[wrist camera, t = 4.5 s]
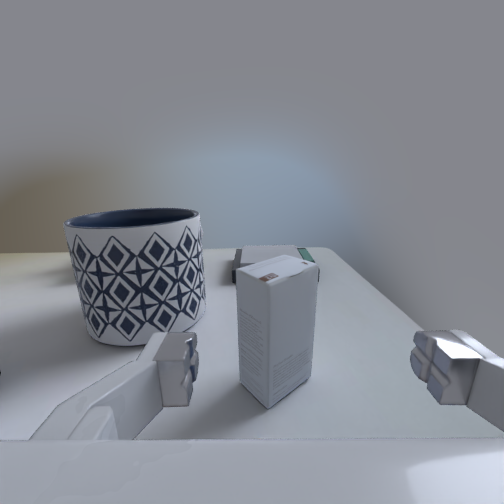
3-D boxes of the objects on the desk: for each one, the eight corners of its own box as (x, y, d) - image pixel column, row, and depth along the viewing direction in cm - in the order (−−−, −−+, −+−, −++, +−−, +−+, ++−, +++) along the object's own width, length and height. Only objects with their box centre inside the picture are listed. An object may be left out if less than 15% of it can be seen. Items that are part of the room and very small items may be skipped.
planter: (220, 329, 34) (214, 219, 30) (77, 366, 28) (44, 234, 24) (193, 284, 48) (187, 205, 44) (95, 302, 42) (76, 212, 37)
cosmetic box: (281, 356, 29) (283, 251, 25) (314, 379, 26) (322, 262, 22) (236, 384, 25) (231, 266, 22) (268, 415, 22) (269, 282, 18)
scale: (304, 258, 62) (305, 243, 61) (318, 281, 48) (319, 263, 47) (236, 258, 62) (236, 244, 61) (232, 282, 48) (231, 265, 47)
